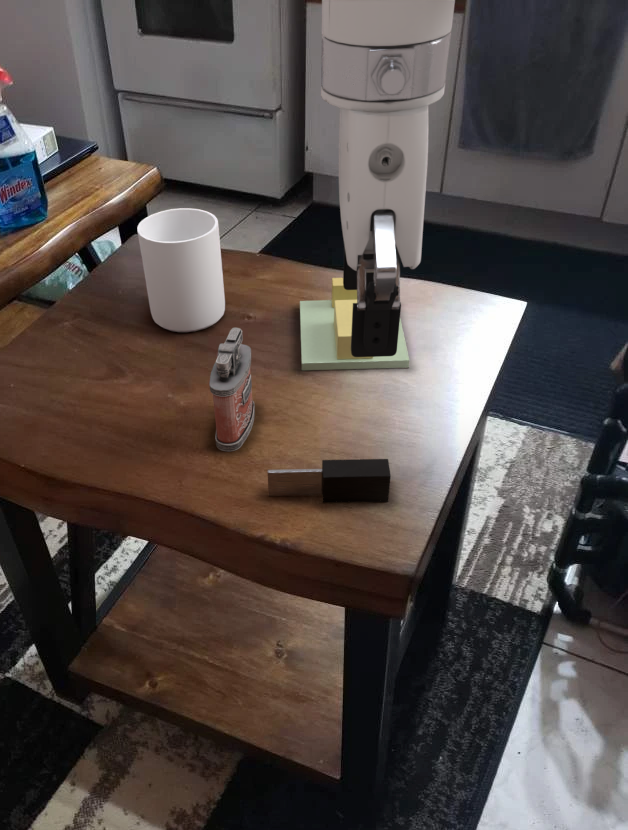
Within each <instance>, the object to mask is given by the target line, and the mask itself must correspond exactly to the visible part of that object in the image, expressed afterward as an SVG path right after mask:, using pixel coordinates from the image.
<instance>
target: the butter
mask: <svg viewBox="0 0 628 830" xmlns="http://www.w3.org/2000/svg"><path fill="white" fill-rule="evenodd" d="M353 303H357V300H335V301H334V330H335V341H336V352H337V359H369V358H373V357H354V356H352V354H351V333H352V311H353Z"/></svg>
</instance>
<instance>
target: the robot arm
mask: <svg viewBox="0 0 628 830" xmlns="http://www.w3.org/2000/svg"><path fill="white" fill-rule="evenodd" d="M455 3H456V0H321V52H320V53H321V55H320V56H321V58H320V60H321V62H320V65H321V66H320V67H321V68H320V97H321V99H322V100H323V101H324V102H326V103H327V104H329V105H331V106H333V107H336V108H339V120H338V121H339V122H338V124H339V125H338V195H339V196H338V197H339V198H338V199H339V209H340V210H339V212H340V213H339V214H340V222H341V231H342V232H341V233H342V238H343V246H344V247H343V272H342V273H343V275H342V276H343V277H342V278H343V286H344V289H346V290H357V303H353V311H352V333H351V354H352V356H354V357H382V356H393V355H395V354H396V352H397V343H398V333H399V322H400V319H401V311H402V302H401V263H402V267H403V268H409V269H410V270H415V269H416V268H418V266H419V265H420V264H421V262H422V250H423V249H422V248H423V236H424V235H423V234H424V233H423V232H424V220H425V205H426V194H427V193H426V190H427V180H428V179H427V178H428V162H429V129H430V127H429V125H430V124H429V123H430V120H429V106H430V105H432V104H434V103H436V102H438V101H440V100H441V99H442V97H444V95H445V90H446V81H447V73H448V64H449V57H450V47H451V38H452V28H453V21H454V12H455Z"/></svg>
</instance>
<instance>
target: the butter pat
mask: <svg viewBox="0 0 628 830" xmlns="http://www.w3.org/2000/svg"><path fill="white" fill-rule="evenodd" d="M330 298H331V299H330V300H332V308H334V301H335V300H357V290H346V289H344V286H343V277H332V278H331V297H330Z"/></svg>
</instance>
